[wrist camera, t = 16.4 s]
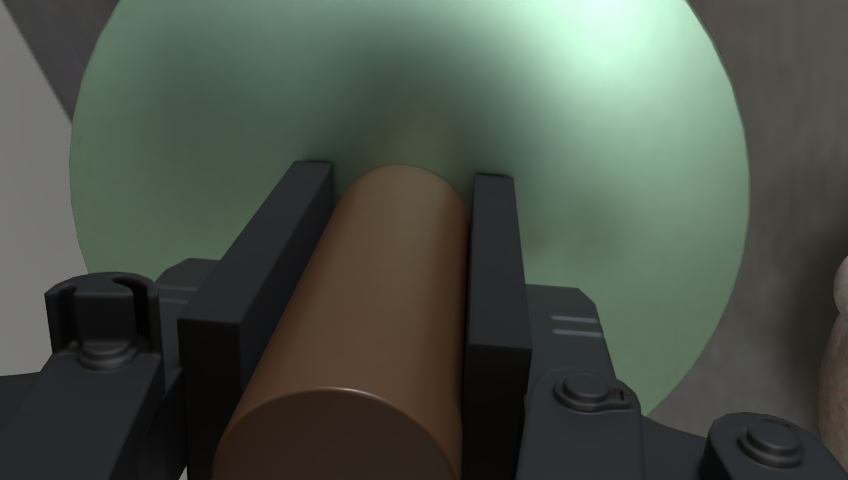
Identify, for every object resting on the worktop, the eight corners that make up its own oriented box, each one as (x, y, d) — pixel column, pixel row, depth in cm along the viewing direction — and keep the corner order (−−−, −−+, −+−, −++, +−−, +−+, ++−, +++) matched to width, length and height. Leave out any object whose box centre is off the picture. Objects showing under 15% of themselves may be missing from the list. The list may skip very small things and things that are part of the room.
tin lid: (0, 278, 19) (-400, 584, 10) (289, -312, 14) (-18, -665, 5) (484, 554, 21) (485, 995, 12) (881, 129, 16) (1329, 375, 8)
